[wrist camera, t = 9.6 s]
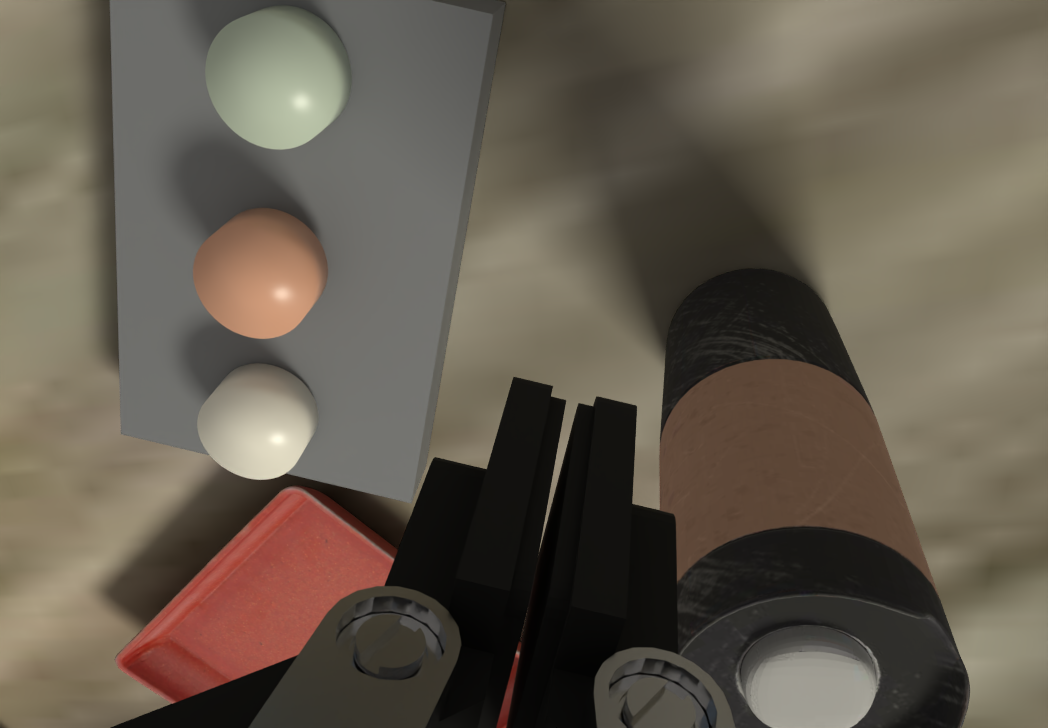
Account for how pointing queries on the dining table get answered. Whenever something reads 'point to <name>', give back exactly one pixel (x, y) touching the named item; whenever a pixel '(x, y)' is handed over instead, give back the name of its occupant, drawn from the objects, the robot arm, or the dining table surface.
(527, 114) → the dining table surface
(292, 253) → the terracotta button
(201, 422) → the cream button
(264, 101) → the sage button
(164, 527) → the dining table surface
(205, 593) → the plant saucer
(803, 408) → the travel mug
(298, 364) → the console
